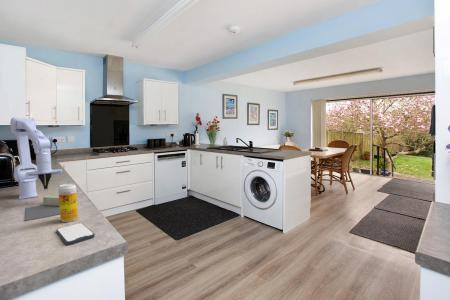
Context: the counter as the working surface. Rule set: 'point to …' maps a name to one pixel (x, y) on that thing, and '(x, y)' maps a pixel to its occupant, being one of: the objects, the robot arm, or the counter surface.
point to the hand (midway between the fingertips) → (45, 188)
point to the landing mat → (41, 212)
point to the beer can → (68, 202)
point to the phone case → (75, 234)
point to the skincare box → (51, 200)
